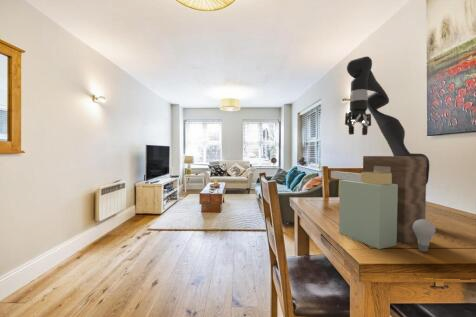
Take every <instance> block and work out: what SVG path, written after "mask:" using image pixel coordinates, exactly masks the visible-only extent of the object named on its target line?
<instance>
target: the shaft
mask: <svg viewBox="0 0 476 317" xmlns="http://www.w3.org/2000/svg"><path fill="white" fill-rule="evenodd" d="M330 178H331V179H335V180H350V181H357V182H361V183H369V184H376V185H391V184H392V173H382V172H363V171H361V172H347V171H338V170H334V171H333V170H331V171H330Z"/></svg>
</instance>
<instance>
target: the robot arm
mask: <svg viewBox="0 0 476 317" xmlns="http://www.w3.org/2000/svg"><path fill="white" fill-rule="evenodd" d="M372 66H373V59H372V58H371V57H370V56H362V57H359V58H356V59H355V58H354V59H351V60H350V61H349V62H347V65H346V71H347V73H348V75H349V76H351V78H353V79H352V80H351V82H350V93H349V95H350V97H349V111H347V112H345V117H344V118H345V119H344V125H345V126H348V135H354V134H355V124H356V123H359V124H360V125H361V133H362V134H361V135H362V136H367V135H368V128H369V127H371V126H372V116H373V118H374V120H375V122H376V124H377V126H378V128H379V130H380V132H381V133H382V135H383V137H384V139H385V141H386V143H387V144H388V146H389V148H390V150H391V153H392V156H410V157H427V167H426V185H428V182H429V174H430V160H429V157H428V156H427V155H425V153H415V152H414V153H411V152H410V151H409V150H408V148H407V147H406V145H405V136H406V131H405V128H404V127H403V125H402V123H401V121H400V120H399V119H397V117H394V116H393V115H388V114H385V113H383V112H381V111H379V109H380V108H382V107H385V106H386V105H388V104H389V103H390V98H389V96H388V93H387V92H386V91H385V89H384V88H383V86H382V85H381V84H380V83H379V82H378V81H377V79H376V77H375V75H374V73H373V72H372ZM368 91H370V92H373V93H371V94H368ZM367 110H368V111H369V112H370V113H366V112H367ZM425 220H427V207H426V208H425Z"/></svg>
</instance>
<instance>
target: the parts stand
mask: <svg viewBox="0 0 476 317" xmlns="http://www.w3.org/2000/svg"><path fill="white" fill-rule="evenodd" d="M427 158H428V156H427V157H410V156H394V155H364V156H362V160H363V161H362V172H382V173H392V184H397V185H398V201H397V242H398V243H400V244H403V245H405V244H410V243H414V242H415V243H416V242H418V241H417V237H416V234H415V233H414V231H413V228H412V226H413V223H414V222H415V221H416V220H419V219H425V208H426V209H427V204H426V201H427V200H426V199H427V184H426V167H427Z"/></svg>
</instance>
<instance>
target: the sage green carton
mask: <svg viewBox="0 0 476 317" xmlns="http://www.w3.org/2000/svg"><path fill="white" fill-rule="evenodd" d="M397 201H398V185H397V184H391V185H376V184H369V183H361V182H357V181H350V180H342V179H339V201H338V202H339V204H338V205H339V209H338V210H339V212H338V214H339V215H338V217H339V218H338V233H339V234H341V235H344V236H346V237H348V238H351V239H353V240H356V241H358V242H360V243H363V244H366V245H368V246H370V247H373V248H375V249H378V250H381V249H386V248H391V247H395V246H397V245H398V244H397Z"/></svg>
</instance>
